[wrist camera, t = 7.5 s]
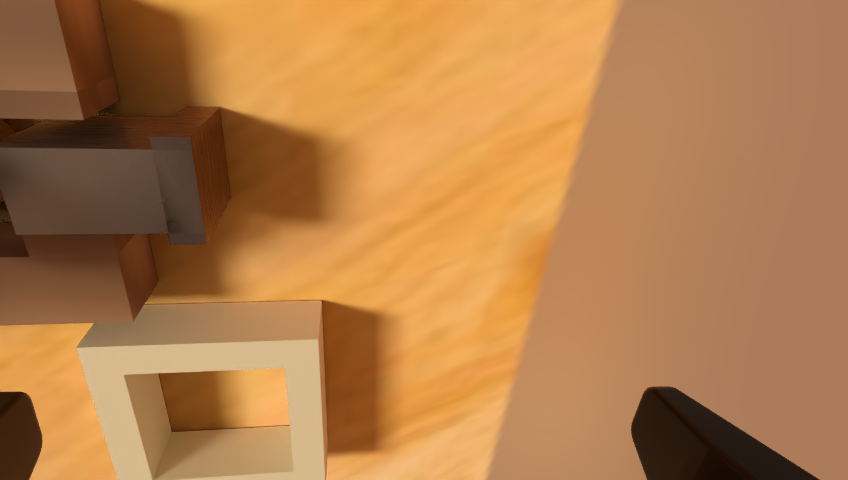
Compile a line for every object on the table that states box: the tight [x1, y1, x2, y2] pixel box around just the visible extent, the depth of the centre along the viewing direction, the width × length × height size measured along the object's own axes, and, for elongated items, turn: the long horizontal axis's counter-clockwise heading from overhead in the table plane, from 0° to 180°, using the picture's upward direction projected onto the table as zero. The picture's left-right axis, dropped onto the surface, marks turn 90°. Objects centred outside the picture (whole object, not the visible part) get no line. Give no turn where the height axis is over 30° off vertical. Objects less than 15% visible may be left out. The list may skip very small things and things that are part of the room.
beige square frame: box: [76, 300, 328, 480], centre depth 21 cm, size 8×8×2 cm
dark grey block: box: [0, 106, 231, 244], centre depth 16 cm, size 3×5×4 cm, turn 87°
